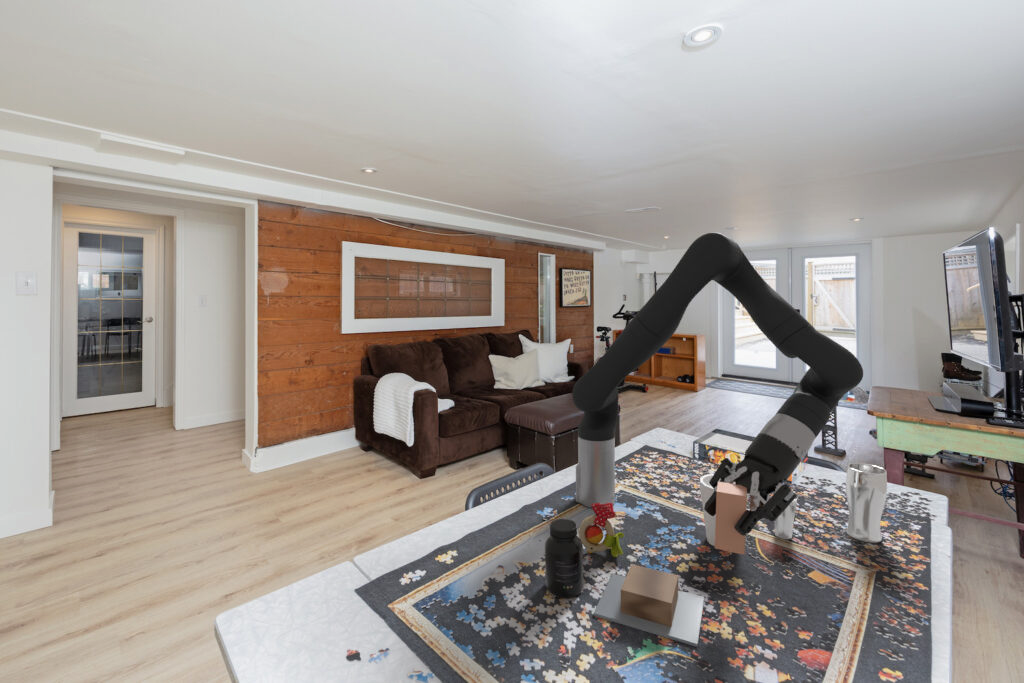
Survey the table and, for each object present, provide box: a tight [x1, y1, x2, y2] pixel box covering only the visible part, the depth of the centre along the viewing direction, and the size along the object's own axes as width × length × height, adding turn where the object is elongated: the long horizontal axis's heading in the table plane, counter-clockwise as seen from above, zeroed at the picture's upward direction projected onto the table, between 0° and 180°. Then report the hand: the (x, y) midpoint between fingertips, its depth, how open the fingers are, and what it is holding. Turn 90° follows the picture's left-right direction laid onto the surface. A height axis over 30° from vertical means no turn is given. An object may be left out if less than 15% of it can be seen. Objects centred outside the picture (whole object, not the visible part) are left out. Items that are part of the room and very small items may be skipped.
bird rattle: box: [578, 503, 625, 558], centre depth 94 cm, size 6×11×9 cm
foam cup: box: [699, 473, 750, 547], centre depth 97 cm, size 10×9×13 cm
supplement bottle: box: [544, 518, 584, 599], centre depth 83 cm, size 7×7×12 cm
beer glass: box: [845, 462, 888, 544], centre depth 98 cm, size 7×7×15 cm
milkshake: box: [773, 491, 802, 540], centre depth 99 cm, size 4×5×10 cm
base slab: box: [621, 563, 679, 627], centre depth 77 cm, size 8×8×4 cm
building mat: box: [593, 573, 705, 648], centre depth 77 cm, size 16×12×1 cm
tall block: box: [714, 482, 748, 555], centre depth 78 cm, size 4×4×10 cm
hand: (723, 521), depth 77 cm, fingers closed on tall block, 6 cm apart
